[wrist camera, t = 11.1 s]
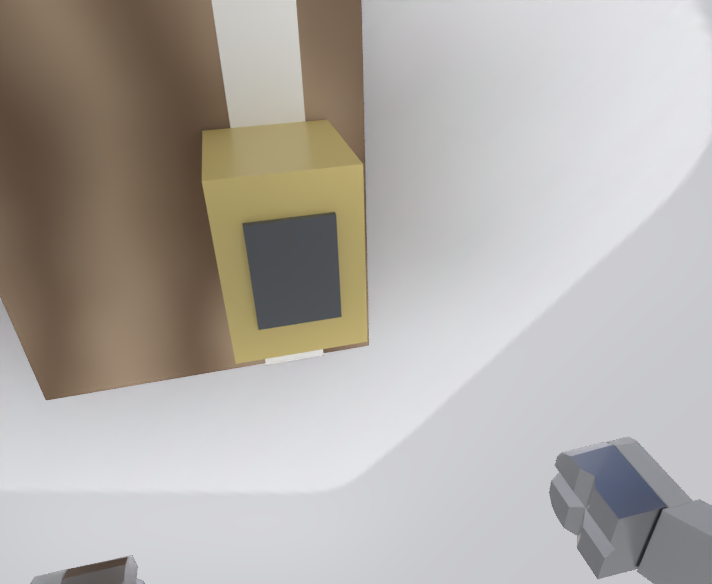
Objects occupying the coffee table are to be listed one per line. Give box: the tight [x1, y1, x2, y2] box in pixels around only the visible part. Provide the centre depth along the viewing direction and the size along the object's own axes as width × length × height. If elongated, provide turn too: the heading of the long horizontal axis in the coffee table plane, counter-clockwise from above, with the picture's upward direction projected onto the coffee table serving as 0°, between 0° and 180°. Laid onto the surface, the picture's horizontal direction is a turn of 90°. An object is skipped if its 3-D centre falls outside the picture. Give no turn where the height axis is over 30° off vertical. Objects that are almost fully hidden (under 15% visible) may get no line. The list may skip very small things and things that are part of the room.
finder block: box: [202, 119, 367, 364], centre depth 21 cm, size 5×7×6 cm
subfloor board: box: [0, 0, 369, 400], centre depth 24 cm, size 16×17×2 cm
